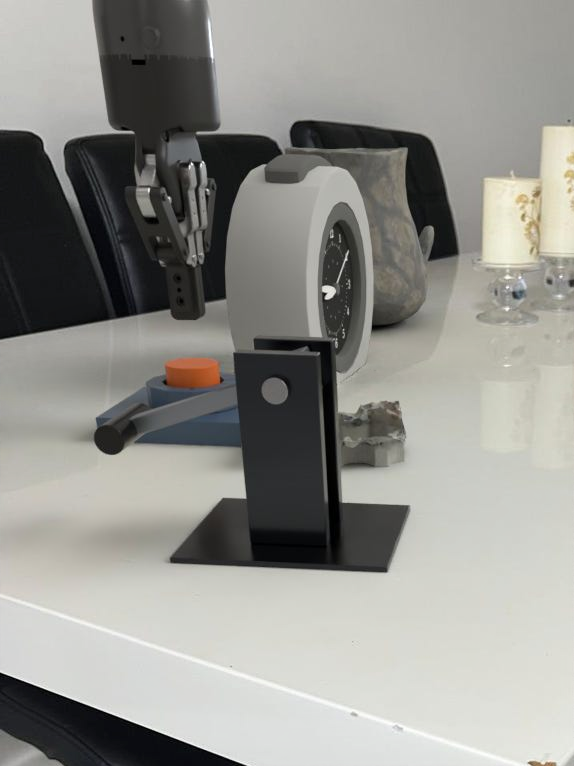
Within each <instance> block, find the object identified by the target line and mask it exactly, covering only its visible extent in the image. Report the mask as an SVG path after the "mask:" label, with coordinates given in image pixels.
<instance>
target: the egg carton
mask: <svg viewBox="0 0 574 766" xmlns="http://www.w3.org/2000/svg"><path fill="white" fill-rule="evenodd" d="M338 418H339V440H340V462H341V468H342V467H343V466H346V465H349V464H355V463H357V464H358V463H359V464H361V463H363V464H367V465H368V464H369V465H372V466H374V468H389V467H390V466H392V465H393V464H396V463H405V458H406V456H405V455H406V454H405V444H406V443H407V440H406V439H407V438H408V437H407V436H408V435H407V431H406V428H405V424H404V422H403V412H402V407H401V406H400V400H394V401H387V400H381V401H379V402H373V401H371V402H369V403H366V404H360V405H359V406H358V409H357V411H356V412H355V413H352V412H346V411H338Z"/></svg>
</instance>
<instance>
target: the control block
mask: <svg viewBox="0 0 574 766" xmlns="http://www.w3.org/2000/svg"><path fill="white" fill-rule="evenodd" d="M219 374H220V384H217V385H213V386H208V387H197V388H181V387H172V386H167V380H166V373H165V374H160V375H156V376H153V377H151V378H149V380H147V381H145V386H143V387H142V388H140V389H138V390H137V391H135V392H134V393H131V394H130V395H129V396H127V397H126V398H124V399H122V400H121V401H119V402H118V403H116V404H115V405H113V406H111V407H110V408H108V409H107V410H105V411H104V412H102V413H101V414H99V415H98V416H96V417H95V423H96V429H97V428H98V427H100V426H101V425H103V424H104V423H106V422H107V421H109V420H110V419H112V418H113V417H115V416H116V415H118V414H119V413H121V412H122V411H124V410H125V409H127V408H128V407H130V406H131V405H133V404H135V403H143V404H146V405H147V406H149V407H150V408H151V409H155V408H158V407H161V406H165V405H168V404H171V403H174V402H178V401H181V400H184V399H187V398H190V397H194V396H197V395H200V394H203V393H207V392H210V391H213V390H216V389H220V388H223V387H226V386H229V385H233V384H236V381H235V374H231V373H227V372H222V371H219ZM132 444H154V445H178V446H179V445H181V446H207V447H233V448H235V447H236V448H242V447H241V436H240V425H239V414H238V405H236V406H233V407H230V408H226V409H223V410H220V411H216V412H213V413H210V414H207V415H203V416H200V417H197V418H193V419H190V420H187V421H184V422H180V423H177V424H174V425H170V426H167V427H164V428H161V429H157V430H154V431H151V432H147V433H145V434H144V435H142V436H141V437H140V438H138V439H137V440H136V441H134V442H133V443H132Z"/></svg>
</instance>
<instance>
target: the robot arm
mask: <svg viewBox="0 0 574 766" xmlns="http://www.w3.org/2000/svg"><path fill="white" fill-rule="evenodd" d="M91 6H92V7H91V9H92V18H93V24H94V30H95V31H94V32H95V39H96V45H97V52H98V60H99V65H100V66H99V67H100V73H101V81H102V87H103V93H104V100H105V109H106V115H107V121H108V125H109V126H110V127H111V128H112V129H113V130H115V131H118V132H133V134H134V137H135V141H134V144H135V146H134V148H135V151H134V152H135V153H134V167H133V170H134V177H135V183H136V186H135V185H134V186H132V185H130V186H126V187H125V188H124V199H125V202H126V205H127V207H128V209H129V212H130V214H131V216H132V219H133V222H134V223H135V226H136V229H137V230H138V233H139V234H140V237H141V239H142V242H143V245H144V247H145V249H146V252H147V254H148V256H149V258H150V260H151V261H158V262H159V265H160V267H164V270H165V272H164V273H165V276H166V277H165V278H166V286H167V295H168V302H169V309H170V310H169V311H170V315H171V317H172V318H173V319H174V320H176V321H197V320H199V319H201V318H203V317H204V316H205V315H206V312H207V311H206V302H205V291H204V284H203V276H202V267H201V266H202V265H203V264H204V261H205V253H209V252H210V250H211V240H212V233H213V232H212V231H213V223H214V212H215V204H216V203H215V202H216V192H217V184H216V181H215V179H214V177H211V178H210V177H208V172H207V167H206V163H205V161H204V160H202V154H201V151H200V147H199V142H198V138H197V133H201V132H202V133H206V132H207V133H209V132H210V133H211V132H216V131H218V130H219V129H220V127H221V126H222V125H221V124H222V121H221V110H220V99H219V88H218V81H217V80H218V79H217V69H216V58H215V52H214V51H215V50H214V38H213V28H212V27H213V26H212V19H211V12H210V6H209V2H208V0H91Z"/></svg>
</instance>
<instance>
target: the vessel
mask: <svg viewBox="0 0 574 766" xmlns="http://www.w3.org/2000/svg"><path fill="white" fill-rule="evenodd" d="M283 149H284V151H283V152H284V154H293V155H317V156H320V157H322V158H324V159H325V160H327V161H328V162H329V163H330V164H331V165H332V166H333V167H339V168H342V169H345V170H347V171H348V172H349V173H350V175H351V176H352V178H353V179H354V180H355V182H356V184H357V186H358V189H359V191H360V194H361V196H362V199H363V203H364V207H365V211H366V215H367V219H368V225H369V232H370V239H371V246H372V260H373V314H372V326H386V325H391V324H394V323H398V322H402V321H404V320H407V319H409V318H411V317H413V316H414V315H415V314H416V313H417V312H419V310H420V309H421V308H422V306H423V305H424V303H425V301H426V299H427V294H428V291H429V277H428V272H427V267H428V261H429V258H430V256H431V252H432V248H433V245H434V239H435V229H434V227H433V226H432V225H426V226H425V227H423V229H422V231H421V233H420V235H419V236H418V232H417V228H416V224H415V221H414V219H413V217H412V214H411V210H410V207H409V203H408V197H407V196H408V195H407V188H406V187H407V186H406V165H407V158H408V152H409V151H408V149H409V148H408V147H406V146H405V147H398V148H367V147H356V148H353V147H351V148H335V149H333V148H332V149H330V148H329V149H328V148H317V147H316V148H315V147H295V146H289V147H288V146H287V147H284V148H283Z"/></svg>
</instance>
